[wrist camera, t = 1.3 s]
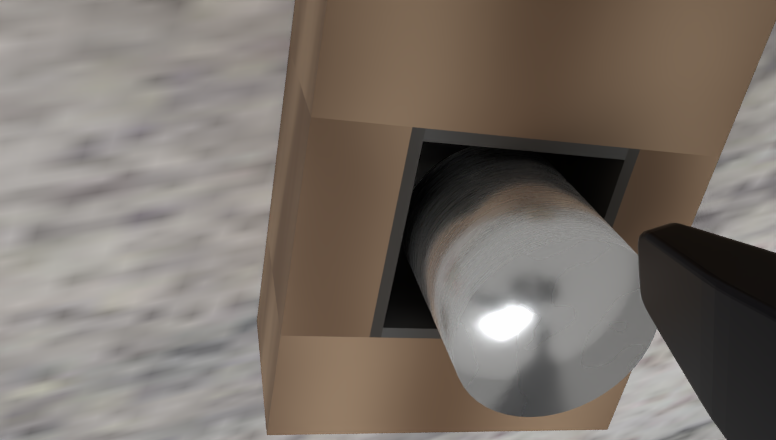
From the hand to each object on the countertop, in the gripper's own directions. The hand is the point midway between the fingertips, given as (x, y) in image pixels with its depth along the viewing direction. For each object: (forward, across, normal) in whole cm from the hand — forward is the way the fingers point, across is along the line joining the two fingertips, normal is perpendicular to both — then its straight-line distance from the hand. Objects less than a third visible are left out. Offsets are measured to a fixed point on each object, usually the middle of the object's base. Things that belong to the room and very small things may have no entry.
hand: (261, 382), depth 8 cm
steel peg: (+10, -5, +5) cm, 12 cm away
